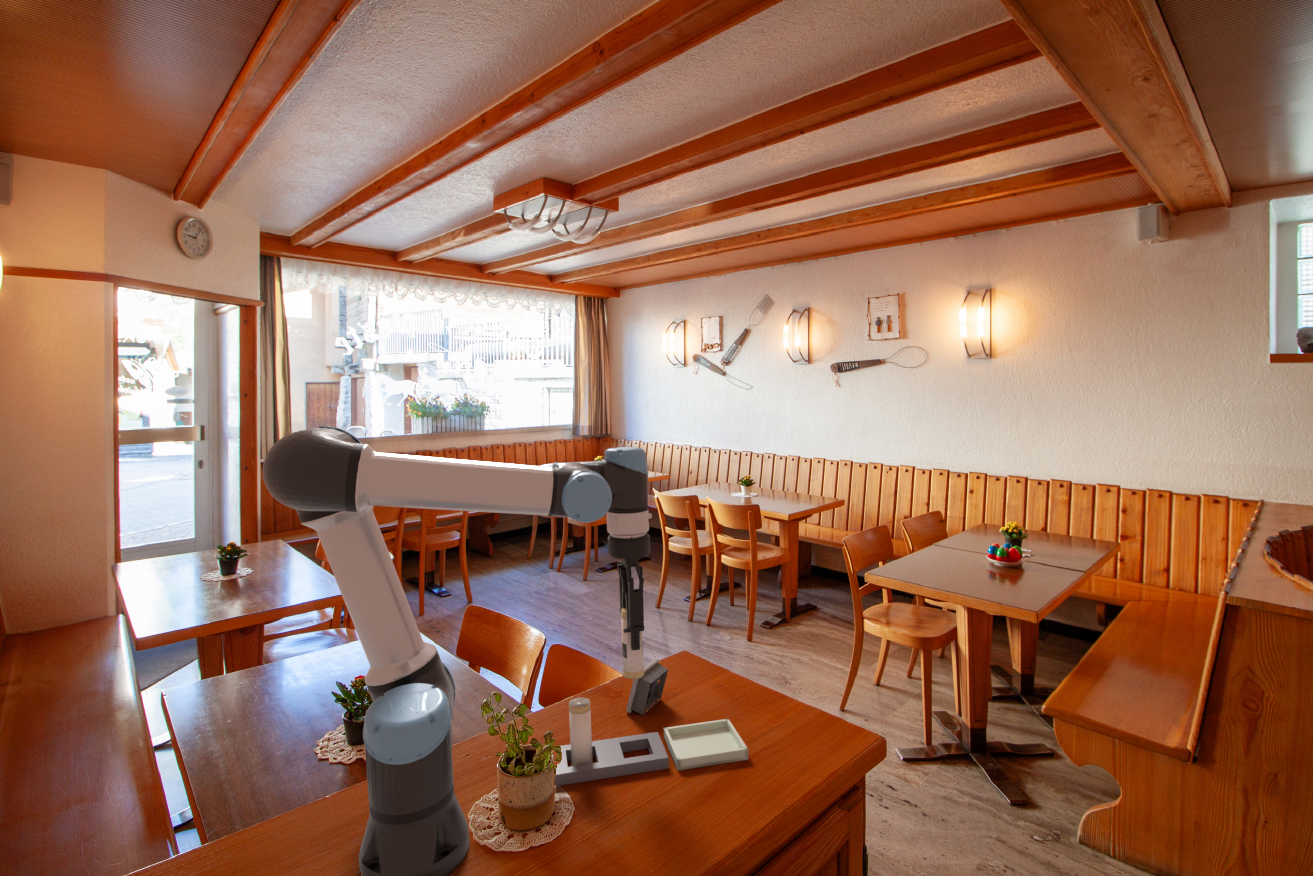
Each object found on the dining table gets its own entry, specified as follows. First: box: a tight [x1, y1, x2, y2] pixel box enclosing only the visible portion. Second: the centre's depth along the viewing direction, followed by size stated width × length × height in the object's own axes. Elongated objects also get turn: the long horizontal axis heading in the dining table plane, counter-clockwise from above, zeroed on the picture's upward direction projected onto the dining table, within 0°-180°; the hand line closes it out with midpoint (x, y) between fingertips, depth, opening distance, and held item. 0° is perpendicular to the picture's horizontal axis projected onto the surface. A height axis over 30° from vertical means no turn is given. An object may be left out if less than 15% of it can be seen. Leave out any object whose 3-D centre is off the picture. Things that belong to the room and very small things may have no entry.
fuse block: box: [554, 731, 670, 787], centre depth 116 cm, size 20×9×2 cm, turn 102°
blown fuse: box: [620, 607, 645, 680], centre depth 116 cm, size 4×4×12 cm
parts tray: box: [663, 718, 749, 772], centre depth 120 cm, size 13×11×2 cm
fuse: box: [568, 697, 594, 767], centre depth 115 cm, size 4×4×12 cm
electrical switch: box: [626, 657, 669, 716], centre depth 136 cm, size 9×5×9 cm, turn 151°
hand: (633, 660), depth 116 cm, fingers closed on blown fuse, 4 cm apart
